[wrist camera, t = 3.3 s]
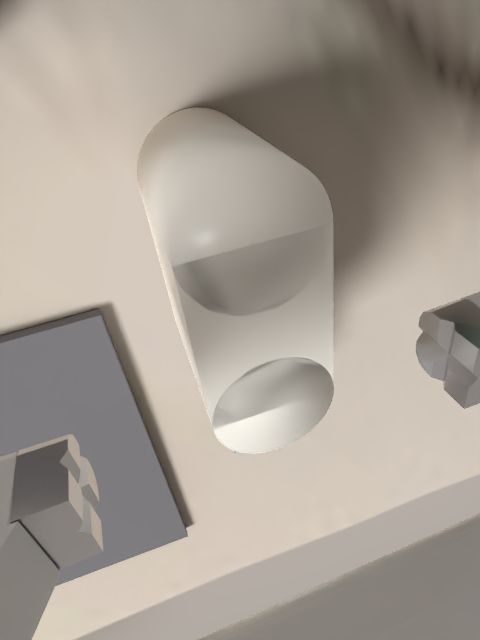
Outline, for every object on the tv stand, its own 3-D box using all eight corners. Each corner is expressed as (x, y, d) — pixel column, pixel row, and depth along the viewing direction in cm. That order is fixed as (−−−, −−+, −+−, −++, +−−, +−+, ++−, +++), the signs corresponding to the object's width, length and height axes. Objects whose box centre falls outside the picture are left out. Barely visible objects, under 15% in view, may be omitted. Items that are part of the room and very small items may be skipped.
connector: (248, 95, 12) (333, 135, 8) (277, 372, 19) (333, 469, 15) (121, 122, 12) (149, 179, 8) (196, 398, 18) (233, 506, 14)
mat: (99, 308, 14) (100, 315, 14) (186, 528, 23) (187, 536, 22) (-334, 428, 12) (-344, 439, 12) (-63, 621, 21) (-65, 630, 20)
